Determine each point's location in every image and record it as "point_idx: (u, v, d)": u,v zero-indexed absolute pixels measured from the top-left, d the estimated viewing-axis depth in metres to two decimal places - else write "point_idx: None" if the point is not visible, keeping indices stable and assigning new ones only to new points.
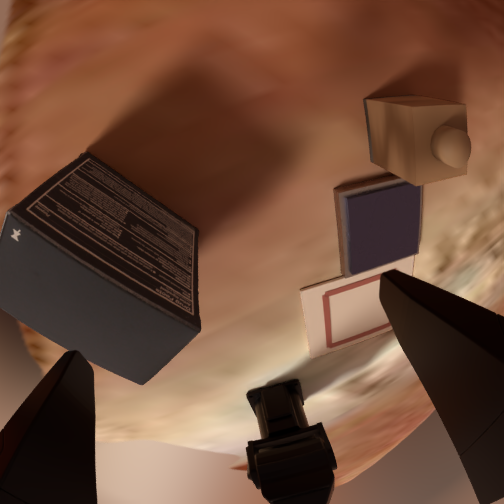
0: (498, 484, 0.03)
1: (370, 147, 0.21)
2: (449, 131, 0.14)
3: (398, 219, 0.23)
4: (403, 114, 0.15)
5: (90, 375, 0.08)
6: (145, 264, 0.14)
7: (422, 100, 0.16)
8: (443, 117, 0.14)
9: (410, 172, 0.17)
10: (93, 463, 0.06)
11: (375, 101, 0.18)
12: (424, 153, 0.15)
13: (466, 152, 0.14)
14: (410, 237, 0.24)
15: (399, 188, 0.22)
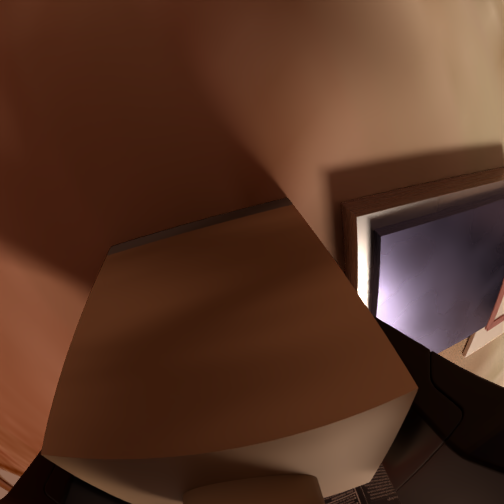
0: None
1: None
2: None
3: (447, 277, 0.09)
4: None
5: None
6: None
7: None
8: (160, 501, 0.04)
9: None
10: None
11: None
12: None
13: None
14: (492, 227, 0.08)
15: (381, 299, 0.08)
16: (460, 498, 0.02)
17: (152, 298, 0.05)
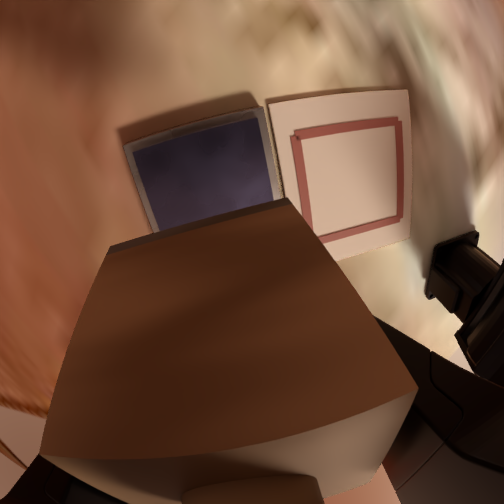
0: None
1: None
2: None
3: (193, 176, 0.16)
4: None
5: None
6: None
7: None
8: (159, 502, 0.04)
9: None
10: None
11: None
12: None
13: None
14: (225, 143, 0.16)
15: (146, 188, 0.16)
16: (460, 498, 0.02)
17: (150, 299, 0.05)
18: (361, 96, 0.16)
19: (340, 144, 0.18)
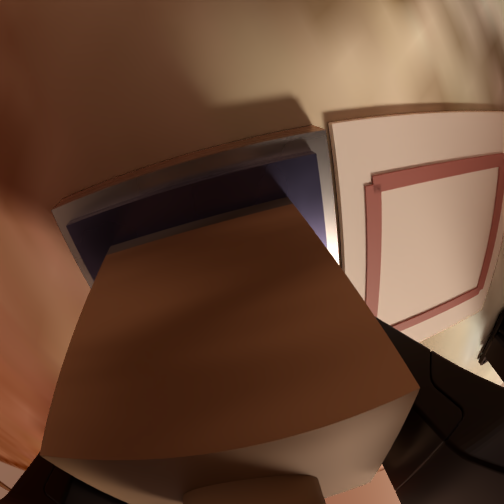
0: None
1: None
2: None
3: None
4: None
5: None
6: None
7: None
8: (160, 502, 0.04)
9: None
10: None
11: None
12: None
13: None
14: (248, 206, 0.08)
15: None
16: (460, 498, 0.02)
17: (151, 298, 0.05)
18: (468, 119, 0.08)
19: (434, 197, 0.10)
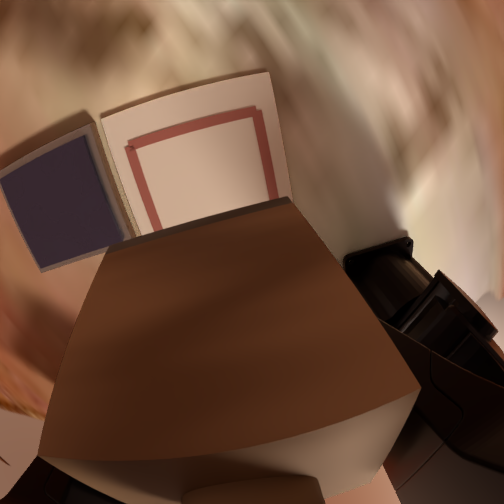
0: None
1: None
2: None
3: (41, 196, 0.15)
4: None
5: None
6: None
7: None
8: (159, 503, 0.04)
9: None
10: None
11: None
12: None
13: None
14: (59, 164, 0.14)
15: (12, 208, 0.15)
16: (460, 497, 0.02)
17: (149, 298, 0.05)
18: (201, 90, 0.15)
19: (181, 147, 0.17)
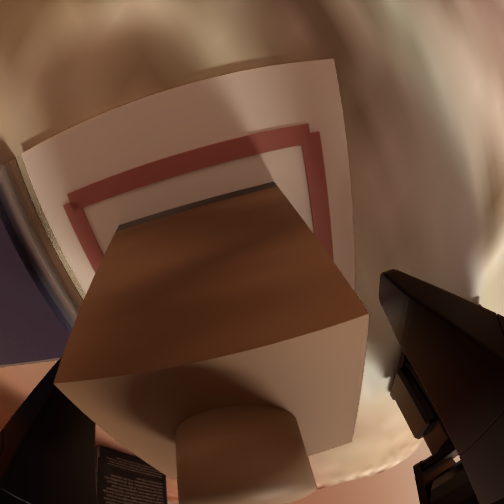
0: (498, 484, 0.03)
1: None
2: None
3: None
4: None
5: None
6: None
7: None
8: (156, 444, 0.05)
9: None
10: (93, 463, 0.06)
11: None
12: None
13: (256, 492, 0.04)
14: None
15: None
16: None
17: (156, 260, 0.06)
18: (202, 90, 0.07)
19: (165, 204, 0.09)
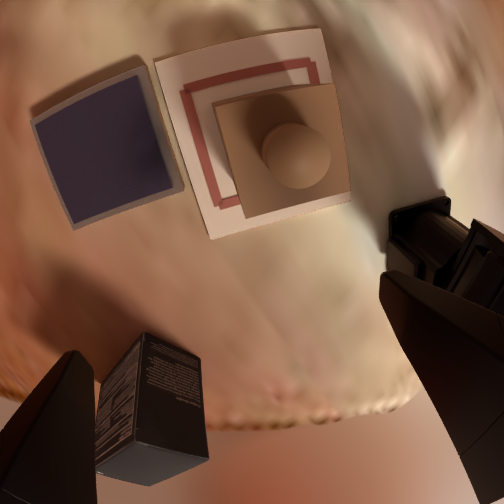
0: (499, 484, 0.03)
1: None
2: (274, 176, 0.11)
3: (83, 140, 0.14)
4: None
5: (90, 375, 0.08)
6: (116, 427, 0.18)
7: None
8: (249, 158, 0.12)
9: None
10: (93, 463, 0.06)
11: (236, 188, 0.17)
12: None
13: (304, 138, 0.10)
14: (108, 104, 0.14)
15: (47, 156, 0.14)
16: None
17: (246, 96, 0.13)
18: (259, 40, 0.14)
19: (238, 92, 0.16)
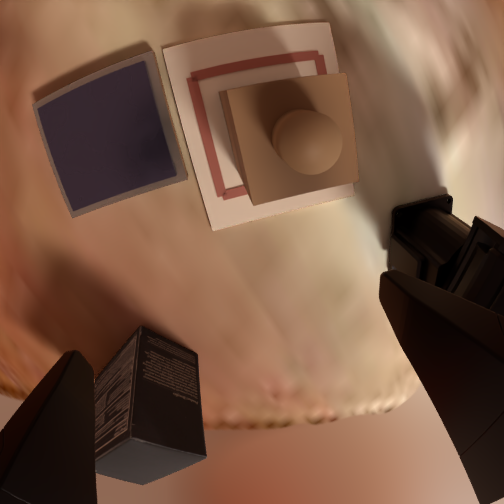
0: (498, 484, 0.03)
1: None
2: (285, 161, 0.11)
3: (87, 125, 0.14)
4: None
5: (90, 375, 0.08)
6: (111, 422, 0.17)
7: (232, 131, 0.13)
8: (259, 143, 0.12)
9: None
10: (93, 463, 0.06)
11: (241, 177, 0.17)
12: (316, 174, 0.13)
13: (316, 123, 0.10)
14: (113, 89, 0.13)
15: (48, 141, 0.14)
16: None
17: None
18: (268, 31, 0.14)
19: (245, 82, 0.15)
